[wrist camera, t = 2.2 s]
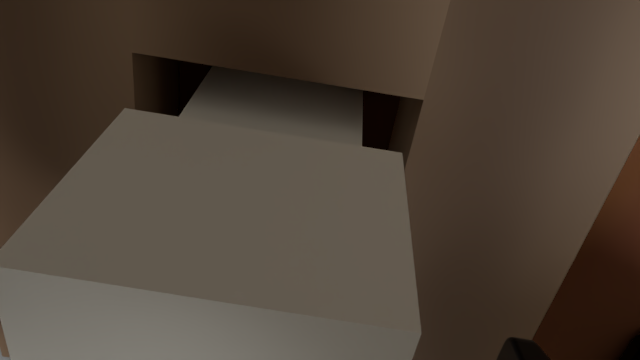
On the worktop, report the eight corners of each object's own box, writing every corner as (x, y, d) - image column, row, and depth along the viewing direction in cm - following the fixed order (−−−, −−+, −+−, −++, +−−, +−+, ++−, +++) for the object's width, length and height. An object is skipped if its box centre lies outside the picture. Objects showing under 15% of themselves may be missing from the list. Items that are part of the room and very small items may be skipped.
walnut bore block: (674, -124, 11) (768, -110, 8) (467, 347, 18) (483, 431, 16) (-39, -245, 10) (-168, -269, 8) (53, 283, 18) (2, 356, 16)
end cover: (392, 60, 13) (422, 334, 6) (357, 217, 16) (347, 539, 9) (195, 27, 13) (-15, 264, 6) (192, 191, 16) (45, 493, 8)
